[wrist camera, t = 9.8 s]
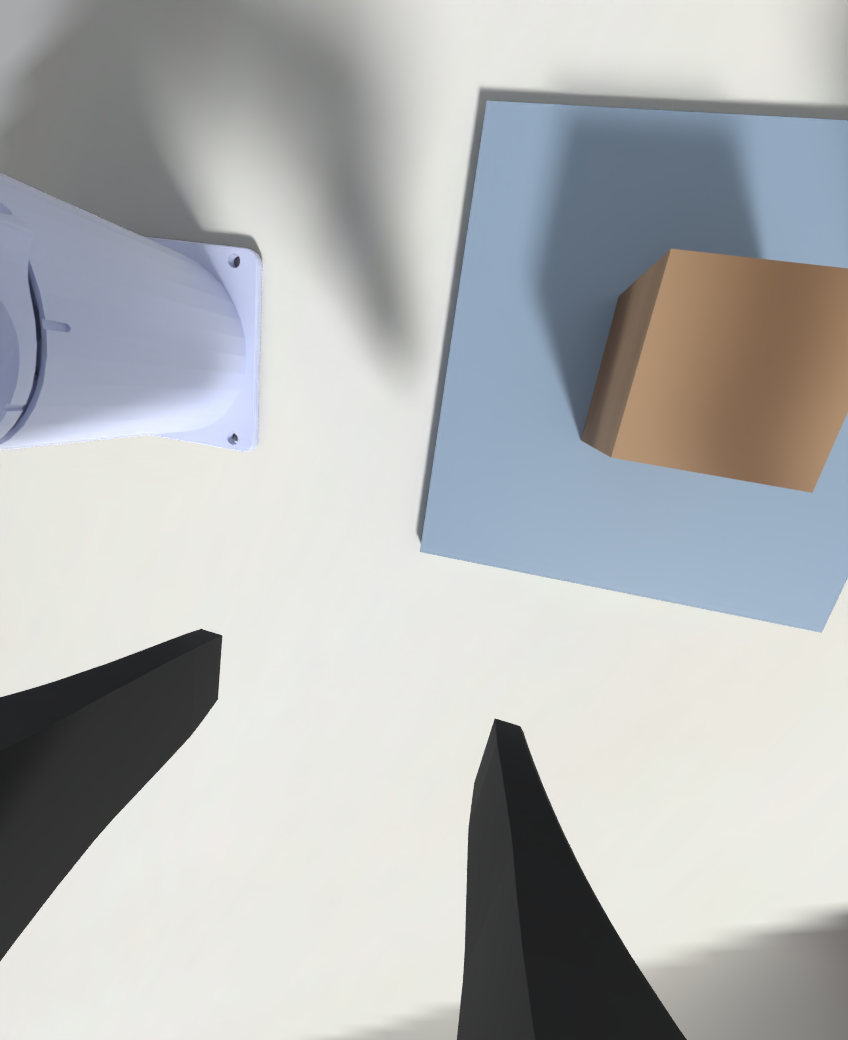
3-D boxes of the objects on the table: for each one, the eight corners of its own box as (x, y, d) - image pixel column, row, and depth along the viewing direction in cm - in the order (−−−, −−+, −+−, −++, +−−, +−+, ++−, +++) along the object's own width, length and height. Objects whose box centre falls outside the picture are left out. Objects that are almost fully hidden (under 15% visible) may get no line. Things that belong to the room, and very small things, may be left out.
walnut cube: (580, 440, 16) (611, 457, 12) (618, 296, 15) (670, 248, 10) (720, 464, 16) (812, 492, 11) (774, 316, 14) (908, 274, 9)
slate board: (422, 547, 19) (419, 551, 19) (487, 111, 15) (486, 100, 14) (811, 624, 17) (821, 632, 17) (1034, 143, 12) (1059, 131, 12)
